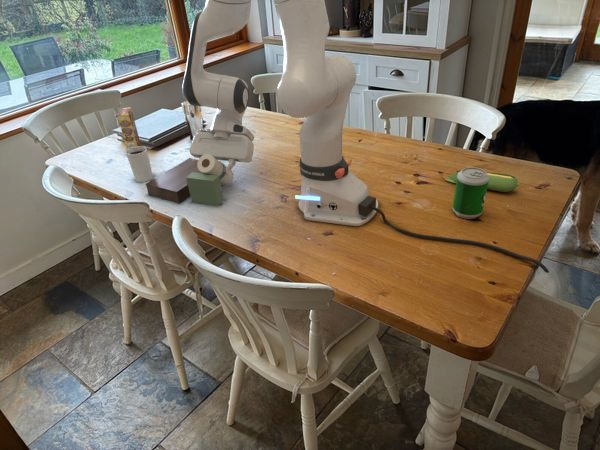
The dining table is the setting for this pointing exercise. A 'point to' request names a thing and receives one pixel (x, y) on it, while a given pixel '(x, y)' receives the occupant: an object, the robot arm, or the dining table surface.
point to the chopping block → (173, 182)
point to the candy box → (128, 128)
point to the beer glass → (192, 118)
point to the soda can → (470, 192)
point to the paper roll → (214, 168)
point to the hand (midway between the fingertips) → (215, 173)
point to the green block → (205, 188)
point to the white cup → (140, 163)
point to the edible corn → (495, 181)
